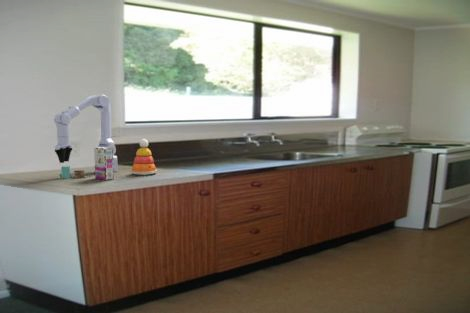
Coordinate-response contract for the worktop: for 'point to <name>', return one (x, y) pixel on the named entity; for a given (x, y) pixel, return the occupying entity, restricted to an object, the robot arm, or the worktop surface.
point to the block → (65, 171)
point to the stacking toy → (143, 160)
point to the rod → (72, 175)
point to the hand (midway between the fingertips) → (64, 162)
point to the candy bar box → (104, 163)
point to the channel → (79, 174)
